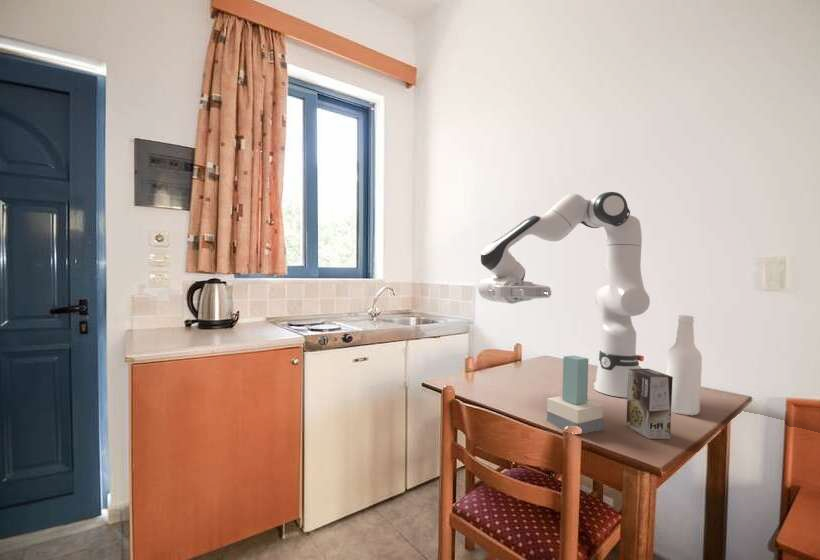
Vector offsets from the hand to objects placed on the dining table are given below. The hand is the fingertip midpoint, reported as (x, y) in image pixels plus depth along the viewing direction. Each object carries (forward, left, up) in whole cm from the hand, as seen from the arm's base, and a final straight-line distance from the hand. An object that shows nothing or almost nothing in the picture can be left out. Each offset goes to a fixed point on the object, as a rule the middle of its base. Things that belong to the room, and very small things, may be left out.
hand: (537, 292), depth 120 cm
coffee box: (-16, +26, -36) cm, 47 cm away
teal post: (0, +16, -29) cm, 33 cm away
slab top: (0, +16, -33) cm, 36 cm away
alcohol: (-43, +18, -36) cm, 59 cm away
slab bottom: (0, +16, -36) cm, 40 cm away
